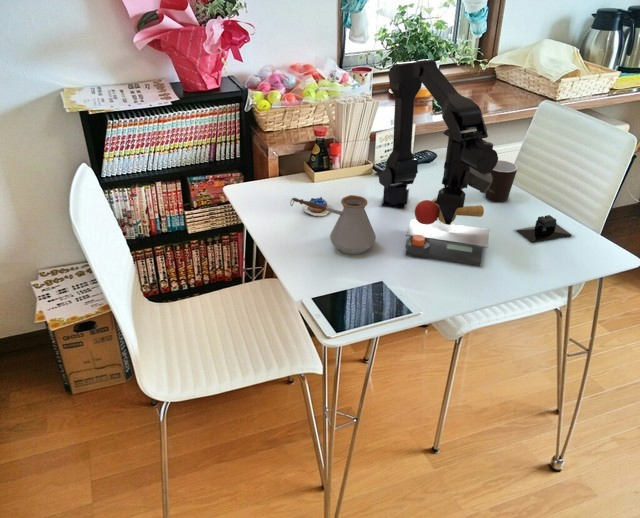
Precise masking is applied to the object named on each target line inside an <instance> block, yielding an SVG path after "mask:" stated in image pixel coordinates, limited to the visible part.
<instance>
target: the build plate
mask: <svg viewBox="0 0 640 518" xmlns="http://www.w3.org/2000/svg"><path fill="white" fill-rule="evenodd" d="M516 232H517V233H518V234H519V235H521V236H522V237H523V238H525V239H526V240H527V241H528V242H529V243H531V244H535V243H543V242H548V241H554V240H558V239H568V238H571V237H572V235H573V234H571V233H570V232H568V231H567V230H565V228H563V227H562V226H560V225H559V224H558V222H557V219H556V218H555V217H553V216H552V215H550V214H547V215H542V216H538V217H537V219H536V221H535V225H534V226H531V227H526V228H519V229H516Z"/></svg>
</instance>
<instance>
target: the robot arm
mask: <svg viewBox="0 0 640 518" xmlns="http://www.w3.org/2000/svg"><path fill="white" fill-rule="evenodd" d="M388 83H389V89H390V91H391V93H392V94H393V96H394V117H393V119H394V120H393V137H392V138H393V140H392V141H393V142H392V151H391V153H390V154H389V156H388V157H387V159H386V163H385V169H384V170H383V171H382V172H381V173H379V175H378V183H379V184H380V185H381V186H383V195H382V202H381V207H386V208H394V209H400V210H402V209H403V210H404V209H405V208H406V205H408V202H409V197H410V188H409V187H408V186H409V185H412V184H413V185H414V182H415V179H416V177H417V174H419V170H418V168H419V167H418V166H419V160H418V159H417V158H415V155H414V154H413V153H412V146H413V145H412V144H413V130H414V129H413V128H414V127H413V126H414V112H415V110H414V109H415V99H416V97H417V95H418V93H419V92H420V91H421V89H422V85H423V87H425V89H426V90H427V91H428V92H429V94H430V95H431V97H433V99H434V100H435V102H436V103H437V104H438V105H439V107H440V109H441V111H442V112H441V113H442V114H441V117H442V120H443V121H444V124H445V125H446V127H447V128H446V129H445V130H443V132H442V133H443V135H445V136H446V137H447V145H446V153H445V162H444V164H443V175H442V176H443V177H442V180H441V185H443V187H442V188H441V189H439V190H438V193H437V196H436V198H437V203H436V204H438V205H439V207H440V209H441V212H442V215H443V218H444V220H445V223H446V224H447V225H450V224H452V223H453V222H452V219H453V217H454V214H455V212H456V209H458V208H462V207H464V206H465V200H466V196H467V194H466V192H465V191H464V190H463V189H468V187H470V188H473V189H475V190H477V191H479V193H481V194H486V191H487V190H488V188H489V186H490V185H491V183H492V178H493V177H492V176H491V174H488V173H489V172H491V171H492V170H493V169H494V168H495V166H496V164H497V162H498V160H499V157H498V156H499V155H498V152H497V151H496V150H495V149H493V148H494V143H492V142H490V141H486V140H485V139H487V138H488V137H489V135H488V131H487V130H488V128H487V126H486V123H485V119H484V116H483V112H482V109H481V108H480V106H479V105H478V104H477V103H476V102H475V101H474V100H472V99H471V98H469V97H467V96H464V95H461V93H459V92H458V91H457V90H456V88H455V87H454V86H453V84H452V83H451V82H450V81H449V80H448V78H447V77H446V76H445V74H444V73H443V72H442V71H441V70H440V69H439V67H438V64H437V62H436V61H435V60H434V59H433V58H432V59H431V58H429V59H419V60H416V61H407V62H397V63H393V64H392V66H391V67H389V70H388ZM470 130H472V131H470ZM466 131H467V132H466ZM451 222H452V223H451Z"/></svg>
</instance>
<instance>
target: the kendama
mask: <svg viewBox="0 0 640 518" xmlns="http://www.w3.org/2000/svg"><path fill="white" fill-rule="evenodd" d="M436 203H437V197H435V198H433V199H432V200H431V199H430V200H429V199H424V200H421V201H419V202H418V203H417V204H416V206H415V208H414V217H415V219H417V221H418V222H419V223H421V224H425V225H428V224H432V223H434V222H437V221H439V222H440V223H444V224H446V223H445V220H444V218H443V215H442V212H441V209H440V207H439V205H438V204H436ZM484 213H485V208H484V206H483V205H482V204H479V205H478V204H477V205H466V206H465V205H464V207H462V208H458V209H456V212H455V214H454V217H453V219H452V222H451V224H452V223H453V222H455V220H456V218H457V216H462V217H477V218H482V217H483V216H484Z"/></svg>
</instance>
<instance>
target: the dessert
mask: <svg viewBox="0 0 640 518" xmlns="http://www.w3.org/2000/svg"><path fill="white" fill-rule="evenodd" d="M309 202H314V203H316V204H319V205H322V206H325V207H327V208H331V207H330V205H329V204H328V202H327V201H326V199H324V198H323V196H320V197H316V198H314V197H311V199H310V200H309ZM303 211H304V212H305V213H307V214H309V215H311V216H315V217H324V216H327V215H328V214H329V213H330V212H329V211H326V210H321V209H317V208H313V207H309V206H307V205H304V207H303Z"/></svg>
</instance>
